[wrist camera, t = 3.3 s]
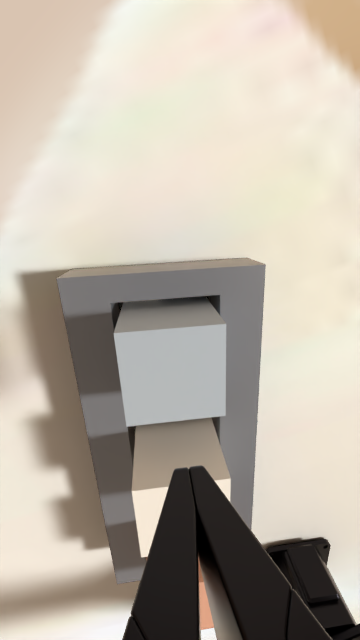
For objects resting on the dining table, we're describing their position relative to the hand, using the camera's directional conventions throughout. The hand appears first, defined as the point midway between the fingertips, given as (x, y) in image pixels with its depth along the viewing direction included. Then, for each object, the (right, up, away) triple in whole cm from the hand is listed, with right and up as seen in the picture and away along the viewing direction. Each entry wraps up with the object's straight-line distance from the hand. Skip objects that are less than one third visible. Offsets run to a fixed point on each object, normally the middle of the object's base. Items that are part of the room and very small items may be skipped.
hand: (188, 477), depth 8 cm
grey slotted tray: (-1, -4, +14) cm, 14 cm away
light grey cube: (-1, +3, +10) cm, 11 cm away
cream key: (-1, -5, +12) cm, 12 cm away
